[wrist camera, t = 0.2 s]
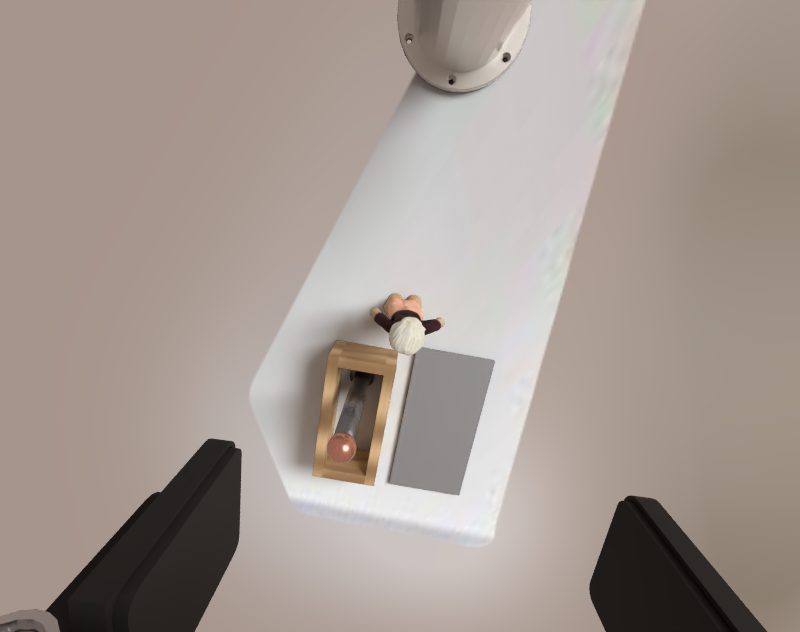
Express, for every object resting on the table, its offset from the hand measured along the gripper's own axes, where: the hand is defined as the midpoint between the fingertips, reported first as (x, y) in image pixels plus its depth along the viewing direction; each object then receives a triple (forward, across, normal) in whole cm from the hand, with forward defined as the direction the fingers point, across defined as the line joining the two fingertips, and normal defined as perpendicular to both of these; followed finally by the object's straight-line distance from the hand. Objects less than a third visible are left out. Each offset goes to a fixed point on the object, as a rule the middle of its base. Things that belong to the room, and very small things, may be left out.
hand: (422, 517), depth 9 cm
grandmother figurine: (+37, 0, +4) cm, 37 cm away
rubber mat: (+37, -6, +19) cm, 42 cm away
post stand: (+37, +4, +14) cm, 39 cm away
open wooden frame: (+37, +5, +18) cm, 41 cm away
